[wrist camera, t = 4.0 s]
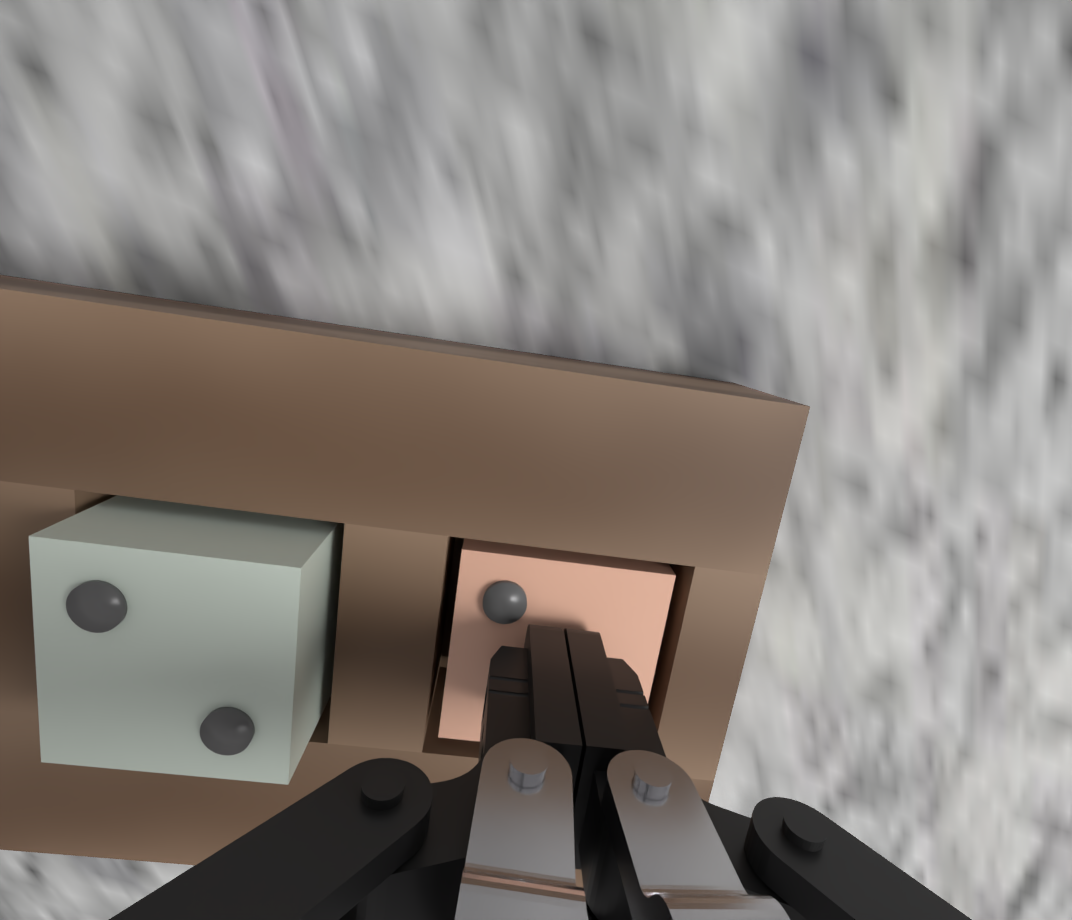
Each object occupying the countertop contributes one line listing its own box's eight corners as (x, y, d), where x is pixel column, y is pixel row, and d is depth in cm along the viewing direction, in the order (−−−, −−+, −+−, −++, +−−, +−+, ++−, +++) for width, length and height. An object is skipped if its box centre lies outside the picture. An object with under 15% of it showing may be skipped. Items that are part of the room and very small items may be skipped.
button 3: (472, 502, 15) (460, 552, 12) (644, 524, 15) (677, 578, 12) (451, 659, 16) (437, 742, 13) (613, 676, 16) (637, 762, 13)
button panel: (-194, 246, 14) (-477, 219, 10) (733, 382, 15) (809, 406, 11) (-134, 701, 16) (-336, 823, 12) (645, 776, 18) (681, 904, 14)
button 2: (140, 484, 13) (21, 539, 10) (348, 511, 13) (297, 571, 10) (141, 666, 14) (34, 768, 11) (334, 686, 14) (285, 790, 11)
